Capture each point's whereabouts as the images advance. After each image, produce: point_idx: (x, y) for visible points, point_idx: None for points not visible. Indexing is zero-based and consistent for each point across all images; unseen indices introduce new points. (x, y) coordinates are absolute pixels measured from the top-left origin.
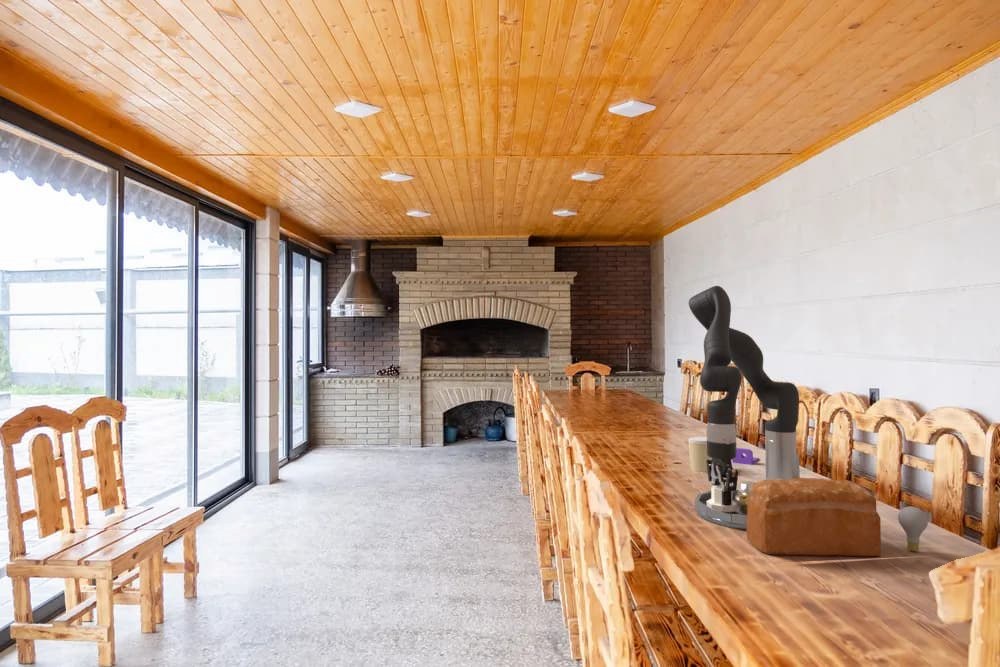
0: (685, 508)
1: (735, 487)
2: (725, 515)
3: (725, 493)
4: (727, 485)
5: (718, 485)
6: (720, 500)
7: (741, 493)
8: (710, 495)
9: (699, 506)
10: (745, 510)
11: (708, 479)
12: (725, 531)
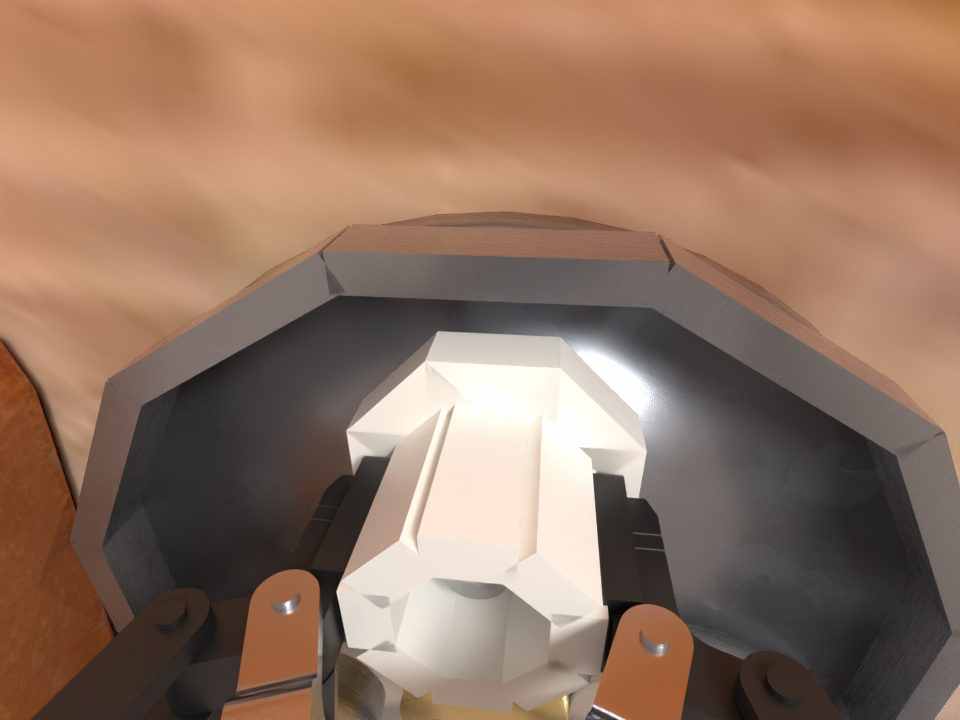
0: (858, 186)
1: (156, 705)
2: (162, 343)
3: (303, 565)
4: (98, 666)
5: (586, 652)
6: (391, 468)
7: (554, 713)
8: (914, 547)
9: (528, 243)
10: None
11: (797, 676)
12: (109, 242)
